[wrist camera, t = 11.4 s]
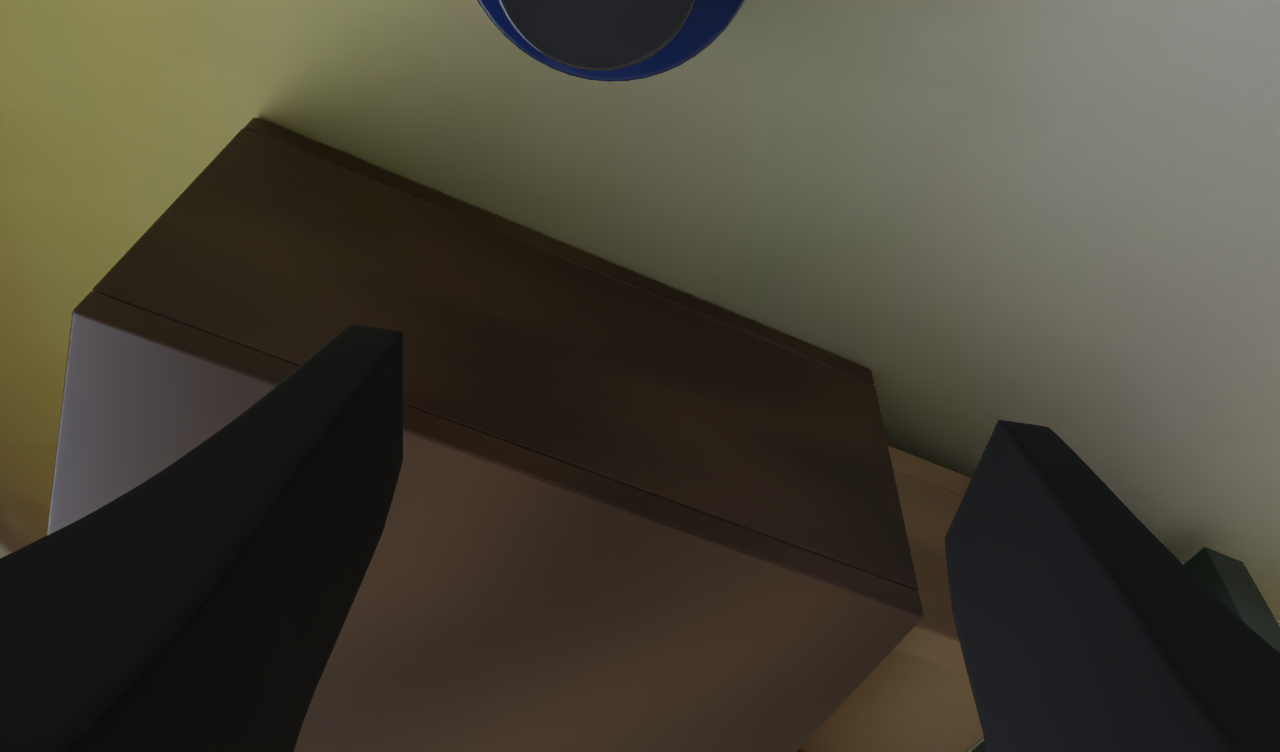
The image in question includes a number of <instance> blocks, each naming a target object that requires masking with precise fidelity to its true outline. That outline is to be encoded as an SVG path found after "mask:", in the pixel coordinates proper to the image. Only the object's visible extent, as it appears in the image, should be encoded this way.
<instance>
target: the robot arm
mask: <svg viewBox="0 0 1280 752" xmlns="http://www.w3.org/2000/svg"><path fill="white" fill-rule="evenodd" d="M402 463H403V331H396V330H390V329H383V328H376V327H369V326H363V325H356V324H351V325H350V326H348V327H347V328H345V329H344V330H343V331H341V332H340V333H339V334H338V335H337V336H335V337H334V338H333V339H332V340H331V341H329V342H328V343H327V344H326V345H325V346H324V347H322V348H321V349H320V350H319V351H318V352H317V353H315V354H314V355H313V356H312V357H311V358H309V359H308V360H307V361H306V362H305V363H304V364H302V365H301V366H300V367H299V368H298V369H296V370H295V371H294V372H293V373H292V374H290V375H289V376H288V377H287V378H286V379H284V380H283V381H282V382H281V383H280V384H278V385H277V386H276V387H275V388H273V389H272V390H271V391H270V392H268V393H267V394H266V395H265V396H263V397H262V398H261V399H260V400H258V401H257V402H256V403H254V404H253V405H252V406H251V407H249V408H248V409H247V410H246V411H244V412H243V413H242V414H240V415H239V416H238V417H237V418H235V419H234V420H233V421H231V422H230V423H229V424H227V425H226V426H225V427H223V428H222V429H221V430H219V431H218V432H216V433H215V434H214V435H212V436H211V437H209V438H208V439H207V440H205V441H204V442H202V443H201V444H199V445H198V446H197V447H195V448H194V449H192V450H191V451H190V452H188V453H187V454H185V455H184V456H182V457H181V458H180V459H178V460H177V461H175V462H174V463H173V464H171V465H170V466H168V467H167V468H165V469H164V470H162V471H160V472H159V473H157V474H156V475H154V476H153V477H151V478H150V479H148V480H146V481H145V482H143V483H142V484H140V485H139V486H137V487H135V488H134V489H132V490H130V491H129V492H127V493H125V494H123V495H122V496H120V497H118V498H117V499H115V500H113V501H111V502H110V503H108V504H106V505H104V506H103V507H101V508H99V509H98V510H96V511H94V512H92V513H90V514H89V515H87V516H85V517H83V518H81V519H79V520H78V521H76V522H74V523H72V524H70V525H68V526H65V527H63V528H61V529H59V530H57V531H55V532H53V533H51V534H49V535H47V536H45V537H43V538H41V539H39V540H37V541H35V542H33V543H31V544H29V545H27V546H25V547H23V548H21V549H19V550H17V551H15V552H13V553H11V554H9V555H7V556H5V557H3V558H1V559H0V752H294V749H295V746H296V743H297V740H298V737H299V733H300V730H301V727H302V724H303V721H304V719H305V716H306V713H307V711H308V708H309V706H310V703H311V700H312V698H313V695H314V692H315V690H316V687H317V685H318V683H319V680H320V678H321V676H322V673H323V671H324V669H325V667H326V664H327V662H328V660H329V657H330V655H331V653H332V650H333V648H334V646H335V643H336V641H337V639H338V636H339V634H340V632H341V629H342V627H343V625H344V622H345V620H346V618H347V616H348V613H349V611H350V609H351V606H352V604H353V602H354V599H355V597H356V595H357V592H358V590H359V588H360V585H361V583H362V581H363V578H364V576H365V574H366V571H367V569H368V567H369V564H370V562H371V559H372V557H373V555H374V552H375V550H376V548H377V545H378V543H379V540H380V538H381V536H382V533H383V530H384V526H385V523H386V520H387V516H388V513H389V509H390V506H391V503H392V499H393V496H394V492H395V488H396V485H397V481H398V477H399V474H400V470H401V467H402ZM945 549H946V560H947V571H948V581H949V589H950V597H951V605H952V613H953V617H954V621H955V626H956V630H957V634H958V638H959V642H960V646H961V650H962V654H963V658H964V662H965V666H966V670H967V674H968V678H969V681H970V685H971V689H972V693H973V697H974V701H975V705H976V708H977V712H978V716H979V720H980V724H981V728H982V731H983V735H984V739H985V743H986V747H987V751H988V752H1280V653H1279V652H1278V651H1277V650H1276V649H1274V648H1273V647H1272V646H1271V645H1270V644H1268V643H1267V642H1266V641H1265V640H1264V639H1263V638H1262V637H1260V636H1259V635H1258V634H1257V633H1256V632H1255V631H1253V630H1252V629H1251V628H1250V627H1249V626H1248V625H1247V624H1245V623H1244V622H1243V621H1242V620H1241V619H1240V618H1239V617H1238V616H1237V615H1236V614H1235V613H1234V612H1232V611H1231V610H1230V609H1229V608H1228V607H1227V606H1226V605H1225V604H1224V603H1223V602H1222V601H1221V600H1220V599H1218V598H1217V597H1216V596H1215V595H1214V594H1213V593H1212V592H1211V591H1210V590H1209V589H1208V588H1207V587H1206V586H1204V585H1203V584H1202V583H1201V582H1200V581H1199V580H1198V579H1197V578H1196V577H1195V576H1194V575H1193V574H1192V573H1191V572H1190V571H1189V570H1188V569H1187V568H1186V567H1185V566H1184V565H1183V564H1182V563H1181V562H1180V561H1179V560H1178V559H1177V558H1176V557H1175V556H1174V555H1173V554H1172V553H1171V552H1170V551H1169V550H1168V549H1167V548H1166V547H1165V546H1164V545H1163V544H1162V543H1161V542H1160V541H1159V540H1158V539H1157V538H1156V537H1155V536H1154V535H1153V534H1152V533H1151V532H1150V531H1149V530H1148V529H1147V528H1146V527H1145V526H1144V525H1143V524H1142V523H1141V522H1140V521H1139V520H1138V519H1137V518H1136V516H1135V515H1134V514H1133V513H1132V512H1131V511H1130V510H1129V509H1128V508H1127V507H1126V506H1125V505H1124V504H1123V503H1122V502H1121V501H1120V500H1119V499H1118V498H1117V497H1116V495H1115V494H1114V493H1113V492H1112V491H1111V490H1110V489H1109V488H1108V487H1107V486H1106V485H1105V484H1104V483H1103V482H1102V481H1101V480H1100V479H1099V478H1098V476H1097V475H1096V474H1095V473H1094V472H1093V471H1092V470H1091V469H1090V468H1089V467H1088V466H1087V465H1086V464H1085V463H1084V462H1083V461H1082V460H1081V459H1080V458H1079V457H1078V456H1077V454H1076V453H1075V452H1074V451H1073V450H1072V449H1071V448H1070V447H1069V446H1068V445H1067V444H1066V443H1065V442H1064V441H1063V440H1062V439H1061V438H1060V437H1058V436H1057V435H1056V434H1055V433H1054V432H1053V431H1052V430H1051V429H1050V428H1049V427H1045V426H1038V425H1032V424H1025V423H1018V422H1011V421H1005V420H998V422H997V424H996V427H995V429H994V431H993V433H992V435H991V438H990V440H989V442H988V444H987V446H986V449H985V451H984V453H983V455H982V457H981V460H980V462H979V464H978V466H977V468H976V471H975V473H974V475H973V477H972V479H971V482H970V484H969V486H968V488H967V490H966V493H965V495H964V497H963V499H962V501H961V504H960V506H959V508H958V510H957V512H956V514H955V517H954V519H953V521H952V523H951V525H950V528H949V530H948V532H947V534H946V536H945Z"/></svg>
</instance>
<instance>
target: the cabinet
mask: <svg viewBox="0 0 1280 752" xmlns="http://www.w3.org/2000/svg"><path fill="white" fill-rule="evenodd" d="M351 324H356V325H363V326H369V327H376V328H383V329H390V330H396V331H403V463H402V467H401V470H400V474H399V477H398V481H397V485H396V488H395V492H394V496H393V499H392V503H391V506H390V509H389V513H388V516H387V520H386V523H385V526H384V530H383V533H382V536H381V538H380V540H379V543H378V545H377V548H376V550H375V552H374V555H373V557H372V559H371V562H370V564H369V567H368V569H367V571H366V574H365V576H364V578H363V581H362V583H361V585H360V588H359V590H358V592H357V595H356V597H355V599H354V602H353V604H352V606H351V609H350V611H349V613H348V616H347V618H346V620H345V622H344V625H343V627H342V629H341V632H340V634H339V636H338V639H337V641H336V643H335V646H334V648H333V650H332V653H331V655H330V657H329V660H328V662H327V664H326V667H325V669H324V671H323V673H322V676H321V678H320V680H319V683H318V685H317V687H316V690H315V692H314V695H313V698H312V700H311V703H310V706H309V708H308V711H307V713H306V716H305V719H304V721H303V724H302V727H301V730H300V733H299V737H298V740H297V743H296V746H295V749H294V752H797V750H798V749H799V748H800V747H801V746H802V745H803V744H804V743H805V742H806V741H807V740H808V739H809V738H810V737H811V736H812V735H813V734H814V733H815V731H816V730H817V729H818V728H819V727H820V726H821V725H822V724H823V723H824V722H825V721H826V720H827V719H828V718H829V717H830V716H831V715H832V714H833V712H834V711H835V710H836V709H837V708H838V707H839V706H840V705H841V704H842V703H843V702H844V701H845V700H846V699H847V698H848V697H849V696H850V695H851V693H852V692H853V691H854V690H855V689H856V688H857V687H858V686H859V685H860V684H861V683H862V682H863V681H864V680H865V679H866V678H867V677H868V676H869V674H870V673H871V672H872V671H873V670H874V669H875V668H876V667H877V666H878V665H879V664H880V663H881V662H882V661H883V660H884V659H885V658H886V657H887V655H888V654H889V653H890V652H891V651H892V650H893V649H894V648H895V647H896V646H897V645H898V644H899V643H900V642H901V641H902V640H903V639H904V638H905V636H906V635H907V634H908V633H909V632H910V631H911V630H912V629H913V628H914V627H915V626H916V625H917V624H918V623H919V622H920V621H921V620H922V619H923V616H924V613H923V609H922V604H921V599H920V594H919V592H918V589H919V588H918V584H917V579H916V574H915V570H914V565H913V560H912V556H911V551H910V546H909V542H908V537H907V532H906V528H905V523H904V518H903V514H902V509H901V504H900V500H899V495H898V490H897V486H896V481H895V476H894V471H893V467H892V462H891V457H890V453H889V448H888V443H887V439H886V434H885V429H884V425H883V420H882V415H881V411H880V406H879V401H878V397H877V392H876V387H875V385H874V380H873V376H872V371H871V370H870V369H868V368H866V367H864V366H861V365H859V364H856V363H854V362H851V361H849V360H846V359H844V358H842V357H839V356H837V355H834V354H832V353H829V352H827V351H825V350H822V349H820V348H817V347H815V346H812V345H810V344H807V343H805V342H803V341H800V340H798V339H795V338H793V337H790V336H788V335H785V334H783V333H781V332H778V331H776V330H773V329H771V328H768V327H766V326H763V325H761V324H759V323H756V322H754V321H751V320H749V319H746V318H744V317H742V316H739V315H737V314H734V313H732V312H729V311H727V310H724V309H722V308H720V307H717V306H715V305H712V304H710V303H707V302H705V301H702V300H700V299H698V298H695V297H693V296H690V295H688V294H685V293H683V292H680V291H678V290H676V289H673V288H671V287H668V286H666V285H663V284H661V283H659V282H656V281H654V280H651V279H649V278H646V277H644V276H641V275H639V274H637V273H634V272H632V271H629V270H627V269H624V268H622V267H619V266H617V265H615V264H612V263H610V262H607V261H605V260H602V259H600V258H597V257H595V256H593V255H590V254H588V253H585V252H583V251H580V250H578V249H576V248H573V247H571V246H568V245H566V244H563V243H561V242H558V241H556V240H554V239H551V238H549V237H546V236H544V235H541V234H539V233H536V232H534V231H532V230H529V229H527V228H524V227H522V226H519V225H517V224H515V223H512V222H510V221H507V220H505V219H502V218H500V217H497V216H495V215H493V214H490V213H488V212H485V211H483V210H480V209H478V208H475V207H473V206H471V205H468V204H466V203H463V202H461V201H458V200H456V199H453V198H451V197H449V196H446V195H444V194H441V193H439V192H436V191H434V190H432V189H429V188H427V187H424V186H422V185H419V184H417V183H414V182H412V181H410V180H407V179H405V178H402V177H400V176H397V175H395V174H392V173H390V172H388V171H385V170H383V169H380V168H378V167H375V166H373V165H370V164H368V163H366V162H363V161H361V160H358V159H356V158H353V157H351V156H349V155H346V154H344V153H341V152H339V151H336V150H334V149H331V148H329V147H327V146H324V145H322V144H319V143H317V142H314V141H312V140H309V139H307V138H305V137H302V136H300V135H297V134H295V133H292V132H290V131H287V130H285V129H283V128H280V127H278V126H275V125H273V124H270V123H268V122H266V121H263V120H261V119H258V118H253V119H252V120H251V121H250V122H249V123H248V124H247V125H246V126H245V128H244V129H242V130H241V131H240V132H239V133H238V134H237V135H236V136H235V137H234V138H233V140H232V141H231V142H230V143H229V144H228V145H227V146H226V147H225V148H224V149H223V150H222V151H221V152H220V153H219V154H218V156H217V157H216V158H215V159H214V160H213V161H212V162H211V163H210V164H209V165H208V166H207V167H206V168H205V169H204V171H203V172H202V173H201V174H200V175H199V176H198V177H197V178H196V179H195V180H194V181H193V182H192V183H191V184H190V186H189V187H188V188H187V189H186V190H185V191H184V192H183V193H182V194H181V195H180V196H179V197H178V198H177V199H176V200H175V202H174V203H173V204H172V205H171V206H170V207H169V208H168V209H167V210H166V211H165V212H164V213H163V214H162V215H161V217H160V218H159V219H158V220H157V221H156V222H155V223H154V224H153V225H152V226H151V227H150V228H149V229H148V230H147V232H146V233H145V234H144V235H143V236H142V237H141V238H140V239H139V240H138V241H137V242H136V243H135V244H134V245H133V247H132V248H131V249H130V250H129V251H128V252H127V253H126V254H125V255H124V256H123V257H122V258H121V259H120V260H119V261H118V263H117V264H116V265H115V266H114V267H113V268H112V269H111V270H110V271H109V272H108V273H107V274H106V275H105V276H104V278H103V279H102V280H101V281H100V282H99V283H98V284H97V285H96V286H95V287H94V288H93V291H92V292H90V293H89V294H88V295H87V296H86V297H85V298H84V300H83V301H82V302H81V303H80V304H79V305H78V306H77V307H76V308H75V309H74V310H73V313H72V322H71V330H70V339H69V347H68V356H67V365H66V373H65V382H64V391H63V399H62V408H61V416H60V425H59V434H58V442H57V451H56V460H55V468H54V477H53V485H52V494H51V503H50V511H49V520H48V529H47V535H49V534H51V533H53V532H55V531H57V530H59V529H61V528H63V527H65V526H68V525H70V524H72V523H74V522H76V521H78V520H79V519H81V518H83V517H85V516H87V515H89V514H90V513H92V512H94V511H96V510H98V509H99V508H101V507H103V506H104V505H106V504H108V503H110V502H111V501H113V500H115V499H117V498H118V497H120V496H122V495H123V494H125V493H127V492H129V491H130V490H132V489H134V488H135V487H137V486H139V485H140V484H142V483H143V482H145V481H146V480H148V479H150V478H151V477H153V476H154V475H156V474H157V473H159V472H160V471H162V470H164V469H165V468H167V467H168V466H170V465H171V464H173V463H174V462H175V461H177V460H178V459H180V458H181V457H182V456H184V455H185V454H187V453H188V452H190V451H191V450H192V449H194V448H195V447H197V446H198V445H199V444H201V443H202V442H204V441H205V440H207V439H208V438H209V437H211V436H212V435H214V434H215V433H216V432H218V431H219V430H221V429H222V428H223V427H225V426H226V425H227V424H229V423H230V422H231V421H233V420H234V419H235V418H237V417H238V416H239V415H240V414H242V413H243V412H244V411H246V410H247V409H248V408H249V407H251V406H252V405H253V404H254V403H256V402H257V401H258V400H260V399H261V398H262V397H263V396H265V395H266V394H267V393H268V392H270V391H271V390H272V389H273V388H275V387H276V386H277V385H278V384H280V383H281V382H282V381H283V380H284V379H286V378H287V377H288V376H289V375H290V374H292V373H293V372H294V371H295V370H296V369H298V368H299V367H300V366H301V365H302V364H304V363H305V362H306V361H307V360H308V359H309V358H311V357H312V356H313V355H314V354H315V353H317V352H318V351H319V350H320V349H321V348H322V347H324V346H325V345H326V344H327V343H328V342H329V341H331V340H332V339H333V338H334V337H335V336H337V335H338V334H339V333H340V332H341V331H343V330H344V329H345V328H347V327H348V326H350V325H351Z"/></svg>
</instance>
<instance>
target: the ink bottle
mask: <svg viewBox="0 0 1280 752" xmlns="http://www.w3.org/2000/svg"><path fill="white" fill-rule="evenodd" d="M477 1H478V3H479V4H480V6H481V7H482V8H483V10H484V11H485V13H486V14H487V16H488V17H489V18H490V20H491V21H492V22H493V23H494V24H495V26H496V27H497V28H498V29H499V30H500V31H501V32H502V33H503V34H504V36H506V37H507V38H508V39H509V40H510V41H511V42H512V43H514V44H515V45H516V46H517V47H518V48H519V49H521V50H522V51H524V52H525V53H527V54H528V55H529V56H531V57H532V58H534V59H535V60H537V61H539V62H541V63H543V64H545V65H547V66H549V67H551V68H553V69H555V70H558V71H561V72H563V73H566V74H569V75H572V76H576V77H580V78H585V79H589V80H598V81H629V80H636V79H643V78H647V77H650V76H654V75H657V74H661V73H664V72H666V71H668V70H671V69H673V68H675V67H677V66H680V65H681V64H683V63H685V62H686V61H688V60H690V59H691V58H693V57H695V56H696V55H698V54H699V53H700V52H701V51H703V50H704V49H705V48H706V47H708V46H709V45H710V44H711V43H712V42H713V41H714V40H715V39H716V38H717V37H718V36H719V35H720V34H721V33H722V32H723V31H724V30H725V29H726V28H727V26H728V25H729V24H730V22H731V21H732V20H733V18H734V17H735V16H736V14H737V13H738V11H739V9H740V8H741V6H742V4H743V2H744V1H745V0H477Z"/></svg>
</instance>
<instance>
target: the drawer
mask: <svg viewBox="0 0 1280 752" xmlns="http://www.w3.org/2000/svg"><path fill="white" fill-rule="evenodd" d="M888 448H889V453H890V457H891V462H892V467H893V471H894V476H895V481H896V486H897V490H898V495H899V500H900V504H901V509H902V514H903V518H904V523H905V528H906V532H907V537H908V542H909V546H910V551H911V556H912V560H913V565H914V570H915V574H916V579H917V584H918V588H919V589H918V592H919V594H920V599H921V604H922V609H923V613H924V616H923V619H922V620H921V621H920V622H919V623H918V624H917V625H916V626H915V627H914V628H913V629H912V630H911V631H910V632H909V633H908V634H907V635H906V636H905V638H904V639H903V640H902V641H901V642H900V643H899V644H898V645H897V646H896V647H895V648H894V649H893V650H892V651H891V652H890V653H889V654H888V655H887V657H886V658H885V659H884V660H883V661H882V662H881V663H880V664H879V665H878V666H877V667H876V668H875V669H874V670H873V671H872V672H871V673H870V674H869V676H868V677H867V678H866V679H865V680H864V681H863V682H862V683H861V684H860V685H859V686H858V687H857V688H856V689H855V690H854V691H853V692H852V693H851V695H850V696H849V697H848V698H847V699H846V700H845V701H844V702H843V703H842V704H841V705H840V706H839V707H838V708H837V709H836V710H835V711H834V712H833V714H832V715H831V716H830V717H829V718H828V719H827V720H826V721H825V722H824V723H823V724H822V725H821V726H820V727H819V728H818V729H817V730H816V731H815V733H814V734H813V735H812V736H811V737H810V738H809V739H808V740H807V741H806V742H805V743H804V744H803V745H802V746H801V747H800V748H799V749H798V750H797V752H967V751H968V750H969V749H970V748H971V747H972V746H974V745H975V744H976V743H977V742H978V741H979V740H980V739H982V738H983V737H984V735H983V731H982V728H981V724H980V720H979V716H978V712H977V708H976V705H975V701H974V697H973V693H972V689H971V685H970V681H969V678H968V674H967V670H966V666H965V662H964V658H963V654H962V650H961V646H960V642H959V638H958V634H957V630H956V626H955V621H954V617H953V613H952V605H951V597H950V589H949V581H948V571H947V560H946V549H945V536H946V534H947V532H948V530H949V528H950V525H951V523H952V521H953V519H954V517H955V514H956V512H957V510H958V508H959V506H960V504H961V501H962V499H963V497H964V495H965V493H966V490H967V488H968V486H969V484H970V482H971V479H972V478H969V477H967V476H964V475H962V474H959V473H957V472H954V471H952V470H949V469H946V468H944V467H941V466H939V465H936V464H934V463H931V462H929V461H926V460H924V459H921V458H919V457H916V456H913V455H911V454H908V453H906V452H903V451H901V450H898V449H896V448H893V447H891V446H888ZM1184 566H1185V567H1186V568H1187V569H1188V570H1189V571H1190V572H1191V573H1192V574H1193V575H1194V576H1195V577H1196V578H1197V579H1198V580H1199V581H1200V582H1201V583H1202V584H1203V585H1204V586H1206V587H1207V588H1208V589H1209V590H1210V591H1211V592H1212V593H1213V594H1214V595H1215V596H1216V597H1217V598H1218V599H1220V600H1221V601H1222V602H1223V603H1224V604H1225V605H1226V606H1227V607H1228V608H1229V609H1230V610H1231V611H1232V612H1234V613H1235V614H1236V615H1237V616H1238V617H1239V618H1240V619H1241V620H1242V621H1243V622H1244V623H1245V624H1247V625H1248V626H1249V627H1250V628H1251V629H1252V630H1253V631H1255V632H1256V633H1257V634H1258V635H1259V636H1260V637H1262V638H1263V639H1264V640H1265V641H1266V642H1267V643H1268V644H1270V645H1271V646H1272V647H1273V648H1274V649H1276V650H1277V651H1278V652H1279V653H1280V627H1279V625H1278V623H1277V621H1276V620H1275V618H1274V616H1273V614H1272V613H1271V611H1270V609H1269V607H1268V606H1267V604H1266V602H1265V600H1264V598H1263V597H1262V595H1261V593H1260V591H1259V590H1258V588H1257V586H1256V584H1255V583H1254V581H1253V579H1252V577H1251V576H1250V574H1249V572H1248V570H1247V568H1246V567H1245V565H1244V563H1243V562H1241V561H1239V560H1236V559H1234V558H1231V557H1229V556H1226V555H1224V554H1221V553H1219V552H1216V551H1214V550H1211V549H1209V548H1206V547H1204V548H1203V549H1201V550H1200V551H1199V552H1198V553H1197V554H1196V555H1195V556H1193V557H1192V558H1191V559H1190V560H1189V561H1188V562H1187V563H1186V564H1184ZM972 752H988V751H987V747H986V743H985V741H983V742H982V743H981V744H980V745H979V746H978V747H977V748H975V749H974V750H973V751H972Z"/></svg>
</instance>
